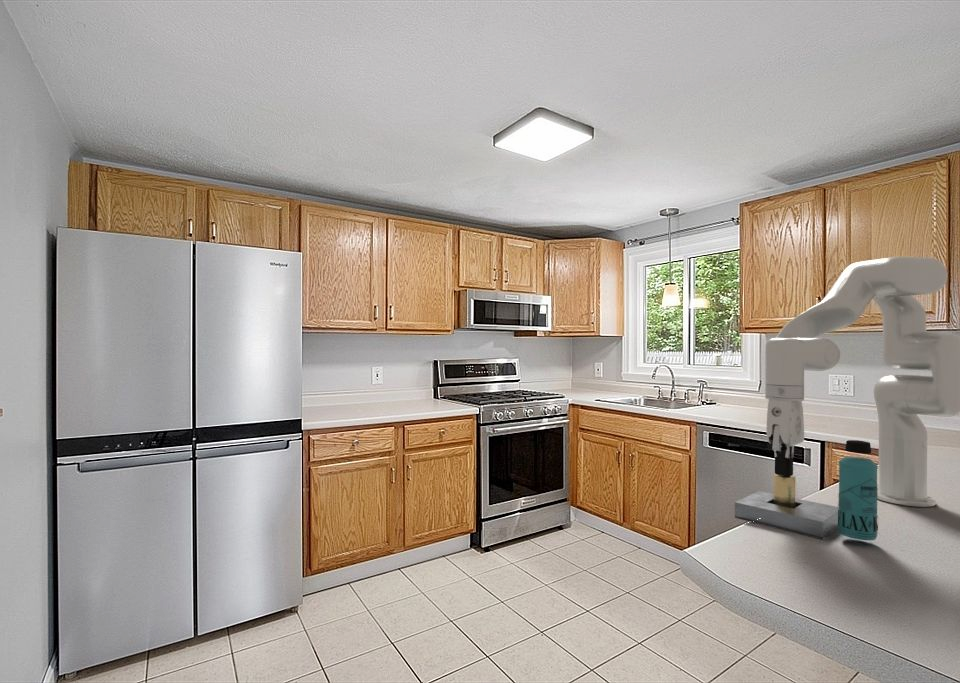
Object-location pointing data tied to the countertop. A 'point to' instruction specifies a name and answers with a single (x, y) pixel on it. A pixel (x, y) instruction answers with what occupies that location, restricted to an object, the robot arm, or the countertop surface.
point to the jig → (788, 515)
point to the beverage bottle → (858, 493)
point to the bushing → (784, 491)
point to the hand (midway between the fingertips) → (783, 474)
